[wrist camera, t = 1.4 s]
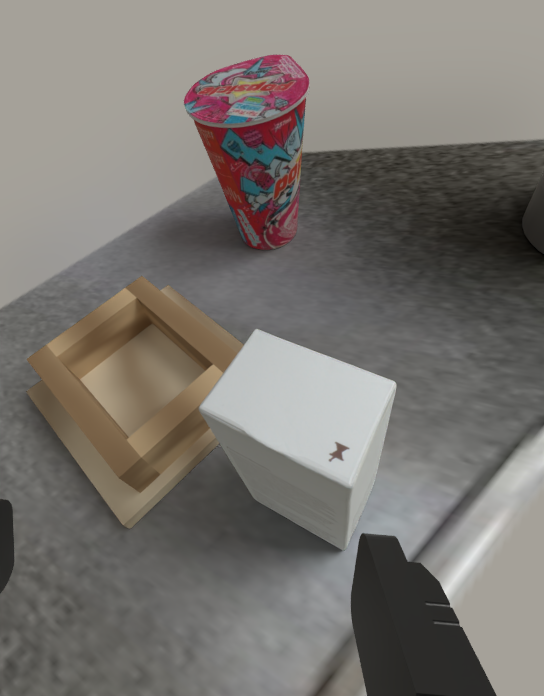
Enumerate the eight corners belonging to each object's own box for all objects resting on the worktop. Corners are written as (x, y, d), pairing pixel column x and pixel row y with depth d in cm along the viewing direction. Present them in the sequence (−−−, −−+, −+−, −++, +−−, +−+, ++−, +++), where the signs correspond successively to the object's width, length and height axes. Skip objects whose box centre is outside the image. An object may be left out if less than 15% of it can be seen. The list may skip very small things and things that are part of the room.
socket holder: (172, 293, 34) (154, 257, 31) (283, 381, 28) (276, 349, 25) (34, 398, 30) (-3, 370, 27) (130, 529, 24) (97, 513, 21)
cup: (319, 258, 35) (313, 112, 25) (220, 268, 35) (176, 130, 26) (312, 190, 40) (305, 47, 30) (226, 200, 41) (192, 63, 31)
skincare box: (375, 482, 24) (404, 381, 14) (345, 553, 22) (353, 495, 12) (284, 437, 26) (254, 322, 16) (249, 498, 24) (192, 411, 14)
